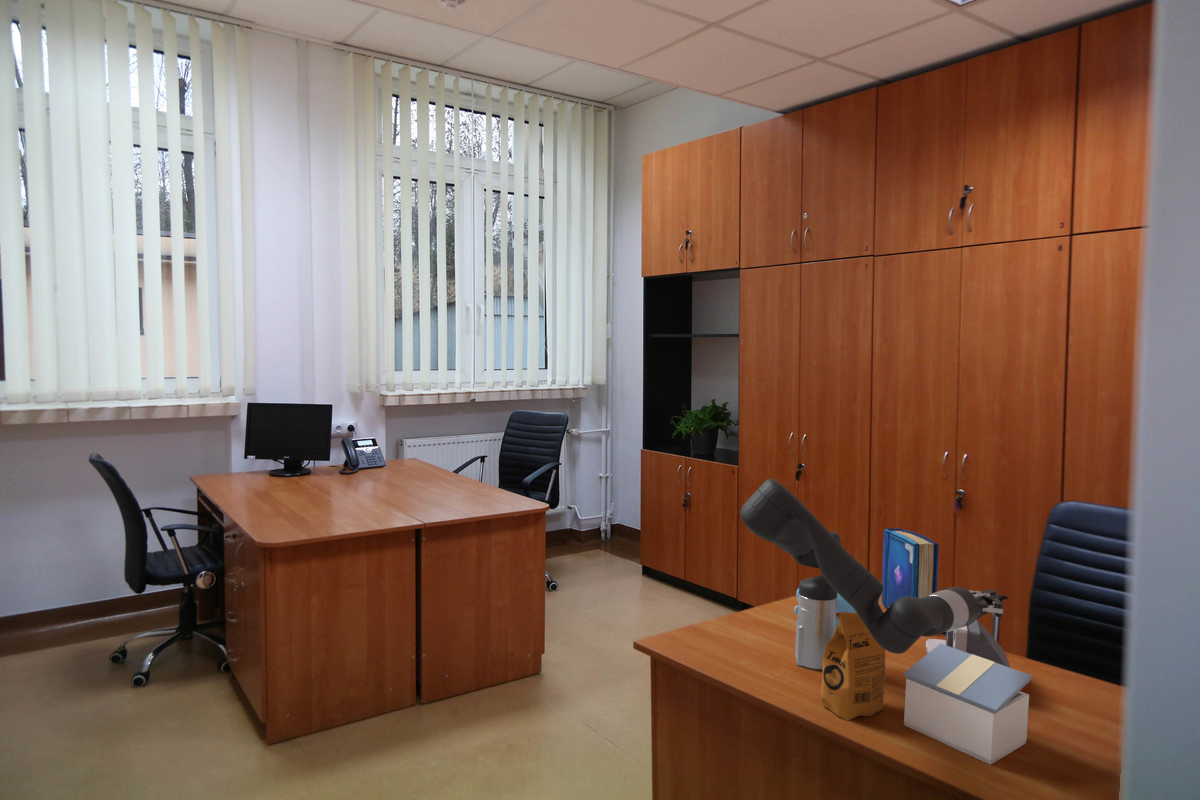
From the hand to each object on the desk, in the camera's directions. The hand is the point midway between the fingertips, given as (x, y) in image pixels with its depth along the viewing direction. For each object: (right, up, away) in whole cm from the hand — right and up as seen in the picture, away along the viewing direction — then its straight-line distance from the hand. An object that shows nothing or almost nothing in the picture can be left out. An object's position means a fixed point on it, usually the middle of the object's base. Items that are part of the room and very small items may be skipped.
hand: (992, 595), depth 157 cm
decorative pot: (-18, -23, +54) cm, 61 cm away
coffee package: (-27, -27, +7) cm, 39 cm away
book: (+7, -23, +63) cm, 67 cm away
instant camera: (+6, -26, +23) cm, 35 cm away
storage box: (-8, -27, -3) cm, 29 cm away
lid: (-8, -16, -4) cm, 18 cm away
